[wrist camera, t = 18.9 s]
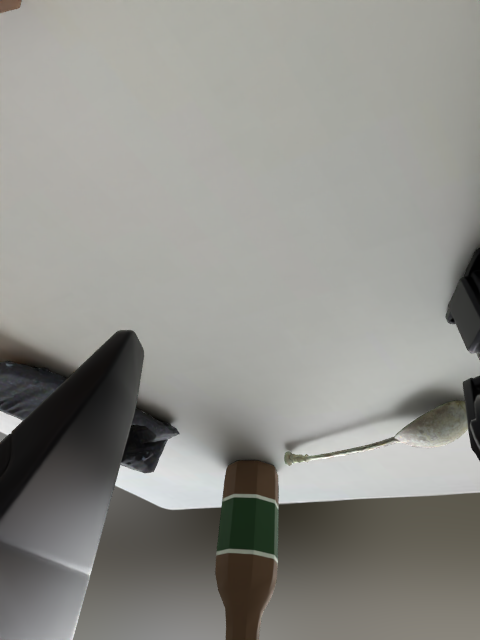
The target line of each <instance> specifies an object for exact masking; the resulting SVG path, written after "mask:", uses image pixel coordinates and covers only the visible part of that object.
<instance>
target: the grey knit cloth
mask: <svg viewBox="0 0 480 640" xmlns="http://www.w3.org/2000/svg"><path fill="white" fill-rule="evenodd" d="M65 380H66V378H64V377H62V376H61V375H59V374H56V373H52V372H49V370H48V369H47V368H41V369H39V368H36V367H35V368H32V367H30V366H27V365H24V364H16V363H13V362H10V361H8V362H2V363H0V411H2V412H4V413H6V414H9V415H12V416H14V417H17V418H19V419H21V420H24V419H26V418H27V417H28V416H29V415H30V414H31V413H32V412H33V411H34V410H35V409H36V408H37V407H38V406H39V405H40V404H41V403H42V402H43V401H44V400H45V399H47V398H48V397H49V396H50V395H51V394H52V393H53V392H54V391H55V390H56V389H57V388H58V387H59V386H60V385H61V384H62V383H63V382H64V381H65ZM131 425H136V426H133V427H131V428H130V431H129V435H128V439H127V442H126V446H125V450H124V453H123V457H122V460H121V464H120V465H122V466H125V467H128V468H130V469H133V470H137V471H140V472H143V473H151V472H154V470H155V468H156V466H157V463H158V460H159V457H160V456H161V454H162V452H163V449H164V447H165V444H166V442H167V440H168V439H170V438H172V437H173V436H176V435H178V434H179V432H178V431H177V429H176V428H175V427H173V426H172V425H170V424H169V423H165V422H164V423H162V422H161V421H158V420H156V419H154V418H152V417H151V416H150V415H149V413H144V412H142V411H141V410H140V409H135V413H134V417H133V420H132V424H131Z"/></svg>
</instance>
